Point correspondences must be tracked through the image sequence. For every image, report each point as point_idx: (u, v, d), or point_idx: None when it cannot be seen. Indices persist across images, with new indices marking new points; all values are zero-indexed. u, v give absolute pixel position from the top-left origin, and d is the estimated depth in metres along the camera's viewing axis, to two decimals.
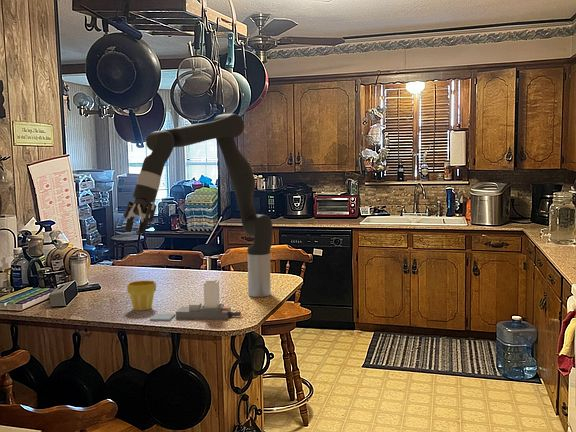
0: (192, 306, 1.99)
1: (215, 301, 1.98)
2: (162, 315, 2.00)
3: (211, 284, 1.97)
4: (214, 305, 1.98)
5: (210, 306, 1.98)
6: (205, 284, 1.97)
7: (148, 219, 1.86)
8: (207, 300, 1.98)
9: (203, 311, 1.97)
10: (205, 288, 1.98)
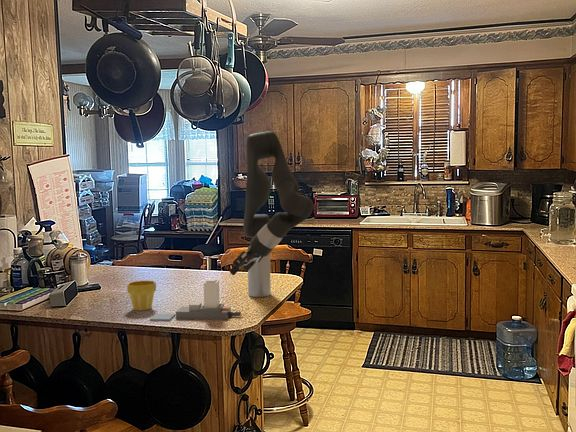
0: (192, 306, 1.99)
1: (215, 301, 1.98)
2: (162, 315, 2.00)
3: (211, 284, 1.97)
4: (214, 305, 1.98)
5: (210, 306, 1.98)
6: (205, 284, 1.97)
7: None
8: (207, 300, 1.98)
9: (203, 311, 1.97)
10: (205, 288, 1.98)
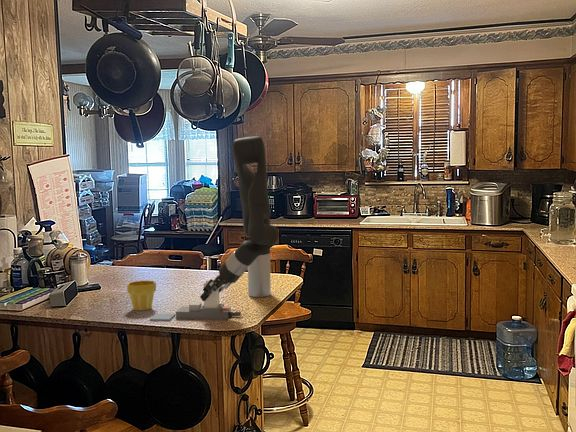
0: (192, 306, 1.99)
1: (215, 301, 1.98)
2: (162, 315, 2.00)
3: None
4: (214, 305, 1.98)
5: (210, 306, 1.98)
6: (205, 284, 1.97)
7: None
8: (207, 300, 1.98)
9: (203, 311, 1.97)
10: None
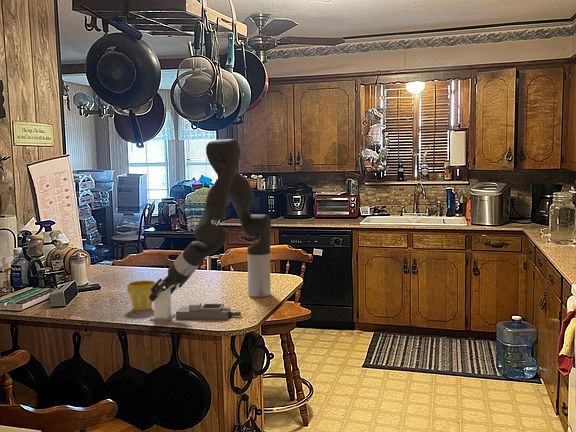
0: (192, 306, 1.99)
1: (165, 308, 1.96)
2: None
3: None
4: (164, 312, 1.97)
5: (160, 313, 1.97)
6: None
7: None
8: (157, 307, 1.97)
9: (203, 311, 1.97)
10: None
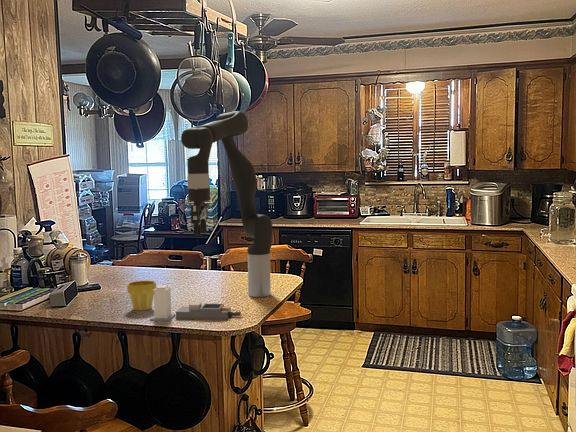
0: (192, 306, 1.99)
1: (165, 308, 1.96)
2: None
3: (161, 291, 1.96)
4: (164, 312, 1.97)
5: (160, 313, 1.97)
6: (155, 291, 1.96)
7: None
8: (157, 307, 1.97)
9: (203, 311, 1.97)
10: (155, 295, 1.96)
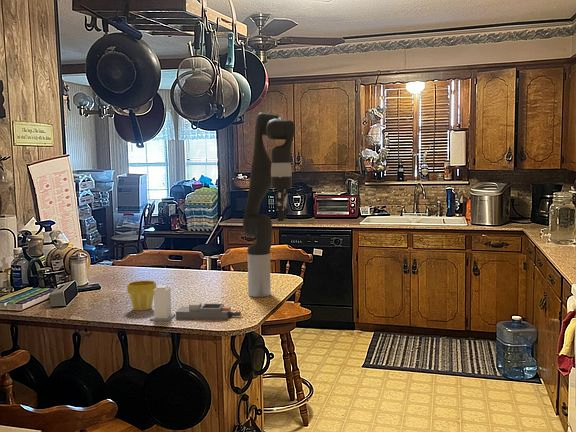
0: (192, 306, 1.99)
1: (165, 308, 1.96)
2: None
3: (161, 291, 1.96)
4: (164, 312, 1.97)
5: (160, 313, 1.97)
6: (155, 291, 1.96)
7: None
8: (157, 307, 1.97)
9: (203, 311, 1.97)
10: (155, 295, 1.96)
